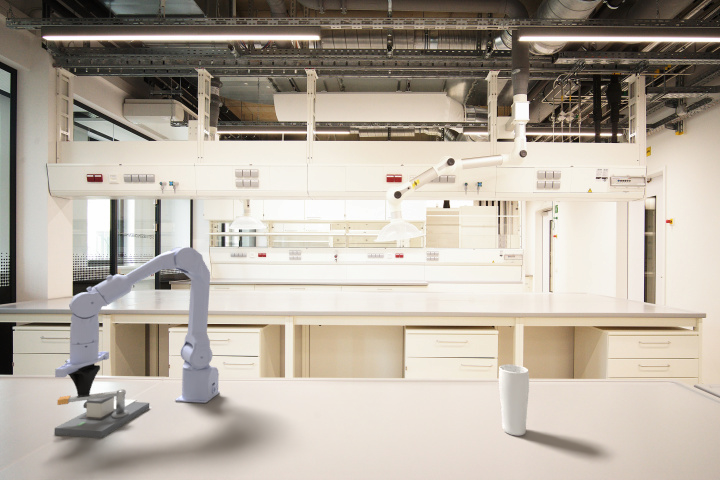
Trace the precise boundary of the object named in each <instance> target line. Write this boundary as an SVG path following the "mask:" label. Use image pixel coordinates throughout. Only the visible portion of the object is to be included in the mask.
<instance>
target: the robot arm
mask: <svg viewBox="0 0 720 480" xmlns="http://www.w3.org/2000/svg"><path fill="white" fill-rule="evenodd" d="M172 269H173V270H178V271H180V272H182V273H183V274H184V275H185V276H187V277H188V278H189V279H190V289H189V290H190V291H189V307H188V309H189V310H188V321H187V322H188V323H187V324H188V325H187V334H186V335H185V337H184V343H183V345H182V346H181V349H180V357H181V359H182V360H183V364H182V369H181V370H182V376H181V378H182V379H181V380H182V381H181V383H182V384H181V395H179V396H178V397H176V398H175V399H174V402H185V403H188V402H189V403H203V404H204V403H208V402H209V401H210V400H212V399H213V398H214V397H216V396H217V395H218V394H219V393H220V390H219V375H220V373H219V369H218V368H217V366H212V365H210V364H211V361H212V360H213V350H212V349H211V346H210V343H211V341H210V338H209V336H208V332H207V331H208V319H209V317H208V316H209V299H210V289H211V288H210V287H211V285H210V284H211V272H210V269H208V266H207V264H206V263H205V261H204V257H203V254H201V253H200V252H199V251H198V250H196V249H195V248H193V247H189V246H186V247H180V246H178V247H174V248H172V249H170V250H168V251H165V252H162V253H160V254H159V255H157V256H155V257H152V258H151V259H149V260H148V261H146V262H145V263H143V264H142V265H140V266H138V267H137V268H135V269H133V270H131V271H130V272H128V273H127V274H125V275H123V274H119V273H116V274H114V275H112V274H109V275H107V276H106V277H105V280H103V281H101V282H99V283H98V284H96V285H94V286H88V287H87V288H86V291H85V292H83V291H82V292H80V293H77V294H75V295H74V296H73V297H72V299H71V300H70V303H69V304H68V305H69V309H70V310H71V312H72V313H71V316H70V321H71V323H70V325H69V327H70V329H69V330H70V331H69V358H68V359H66V360H65V363H64V364H63V365H61V366H59V367H57V368H55V371H54V372H55V373H54V377H55V378H66V377H70V379H71V381H72V383H74V386H75V389H76V392H77V393H76V394H77V396H81V395H90V394H91V389H92V386H93V383H94V381H95V378H96V376H97V375H98V373H99V371H100V369H101V365H98V364H97V363H99V362H101V361H107V360H109V359H110V352H109V351H99V349H100V348H99V347H100V343H99V342H100V341H99V340H100V321H99V313H100V311H101V310H102V309H103V308H102V307H107V306H109V305H110V304H112V303H114V302H116V301H117V300H119V299H121V298H122V297H124V296H126V295H128V294H130V292H131V290H132V286H134V285H135V284H137V283H139V282H141V281H143V280H145V279H147V278H148V277H151V276H152V275H154V274H155V273H158V272H160V271H161V270H172ZM95 364H96V365H95Z"/></svg>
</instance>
